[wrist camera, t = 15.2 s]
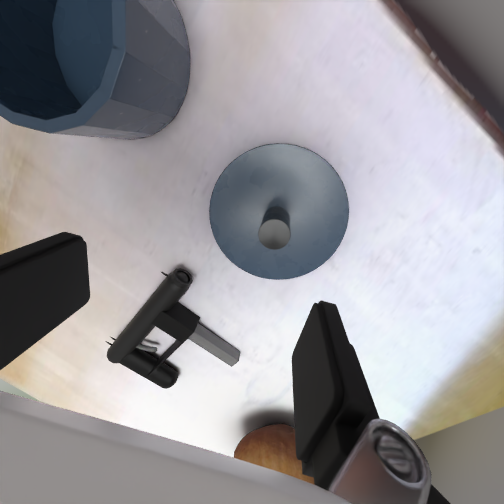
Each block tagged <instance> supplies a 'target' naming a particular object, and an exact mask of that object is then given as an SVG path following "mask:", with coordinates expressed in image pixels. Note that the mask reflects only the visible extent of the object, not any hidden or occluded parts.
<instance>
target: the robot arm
mask: <svg viewBox="0 0 504 504" xmlns="http://www.w3.org/2000/svg"><path fill="white" fill-rule="evenodd" d="M89 298H90V287H89V273H88V259H87V245H86V242H85V241H84V240H83V238H82V237H81V236H79V235H75V234H71V233H68V232H62V233H59V234H56V235H53V236H51V237H48V238H45V239H43V240H40V241H37V242H34V243H32V244H29V245H26V246H23V247H21V248H18V249H15V250H12V251H10V252H7V253H4V254H1V255H0V370H1V369H3V368H4V367H5V366H6V365H8V364H9V363H10V362H12V361H13V360H14V359H15V358H17V357H18V356H19V355H21V354H22V353H23V352H25V351H26V350H27V349H28V348H30V347H31V346H32V345H34V344H35V343H36V342H37V341H39V340H40V339H41V338H43V337H44V336H45V335H47V334H48V333H49V332H50V331H52V330H53V329H54V328H56V327H57V326H58V325H59V324H61V323H62V322H63V321H65V320H66V319H67V318H69V317H70V316H71V315H72V314H74V313H75V312H76V311H78V310H79V309H80V308H81V307H83V306H84V305H85V304H86V303H87V302H88V301H89ZM292 375H293V398H294V422H295V445H296V457H297V459H298V460H301V461H302V474H303V475H306V476H310V477H313V478H314V484H315V485H313V484H311V483H308V482H305V481H303V480H300V479H297V478H295V477H292V476H289V475H287V474H284V473H281V472H278V471H274V470H271V469H268V468H265V467H262V466H258V465H255V464H252V463H249V462H246V461H242V460H239V459H236V458H233V457H229V456H226V455H223V454H220V453H216V452H213V451H209V450H206V449H202V448H199V447H196V446H192V445H189V444H185V443H182V442H178V441H175V440H171V439H168V438H164V437H161V436H158V435H154V434H151V433H147V432H144V431H140V430H137V429H133V428H130V427H126V426H123V425H119V424H116V423H112V422H109V421H105V420H102V419H98V418H95V417H91V416H88V415H84V414H81V413H77V412H74V411H70V410H67V409H63V408H59V407H56V406H52V405H49V404H45V403H42V402H38V401H35V400H31V399H28V398H24V397H20V396H17V395H13V394H9V393H6V392H3V391H0V504H450V503H449V502H448V501H447V500H446V499H445V498H444V497H443V496H442V495H441V494H440V493H439V492H438V491H437V489H436V488H434V487H433V486H432V484H431V471H430V468H429V464H428V462H427V460H426V458H425V456H424V454H423V452H422V451H421V449H420V448H419V447H418V445H417V444H416V442H415V441H414V440H413V439H412V438H411V437H410V436H409V435H408V434H407V433H406V432H405V431H404V430H402V429H401V428H400V427H398V426H397V425H396V424H394V423H391V422H389V421H387V420H383V419H380V418H379V416H378V413H377V410H376V407H375V405H374V402H373V399H372V396H371V394H370V391H369V388H368V385H367V382H366V380H365V377H364V374H363V371H362V369H361V366H360V363H359V360H358V358H357V355H356V352H355V349H354V347H353V346H352V345H351V344H350V343H349V341H348V338H347V335H346V332H345V329H344V326H343V323H342V320H341V317H340V315H339V312H338V309H337V306H336V305H335V304H332V303H328V302H324V301H320V302H319V303H314V305H313V307H312V309H311V311H310V314H309V316H308V318H307V321H306V323H305V325H304V328H303V330H302V332H301V335H300V337H299V340H298V342H297V344H296V347H295V349H294V351H293V355H292Z"/></svg>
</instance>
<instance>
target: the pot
mask: <svg viewBox="0 0 504 504" xmlns="http://www.w3.org/2000/svg"><path fill="white" fill-rule="evenodd" d="M189 75H190V52H189V45H188V38H187V34H186V30H185V27H184V23H183V21H182V18H181V14H180V12H179V10H178V8H177V6H176V4H175V2H174V0H0V116H2V117H3V118H5V119H6V120H8V121H9V122H10V123H12V124H15V125H19V126H23V127H27V128H30V129H34V130H38V131H42V132H46V133H52V134H65V135H78V136H91V137H104V138H117V139H135V138H143V137H147V136H150V135H153V134H155V133H157V132H159V131H160V130H162V129H163V128H164V127H166V126H167V125H168V124H169V123H170V122H171V121H172V119H173V118H174V117H175V115H176V114H177V113H178V111H179V109H180V107H181V105H182V103H183V100H184V98H185V95H186V91H187V87H188V82H189Z"/></svg>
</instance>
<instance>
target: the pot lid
mask: <svg viewBox="0 0 504 504" xmlns="http://www.w3.org/2000/svg"><path fill="white" fill-rule="evenodd" d="M209 212H210V223H211V228H212V232H213V235H214V237H215V240H216V242H217V244H218V245H219V247H220V249H221V250H222V252H223V253H224V254H225V255H226V257H227V258H228V259H229V260H230V261H231V262H232V263H234V264H235V265H236V266H238V267H239V268H241V269H242V270H244V271H246V272H248V273H250V274H252V275H255V276H258V277H262V278H267V279H276V280H277V279H290V278H295V277H299V276H302V275H305V274H307V273H309V272H311V271H313V270H315V269H317V268H318V267H319V266H321V265H322V264H323V263H325V262H326V261H327V260H328V259H329V258H330V257H331V256H332V255H333V253H334V252H335V251H336V249H337V248H338V246H339V245H340V243H341V241H342V239H343V237H344V234H345V231H346V228H347V223H348V217H349V205H348V198H347V194H346V190H345V188H344V185H343V182H342V181H341V179H340V177H339V175H338V174H337V172H336V171H335V170H334V169H333V167H332V166H331V165H330V164H329V163H328V162H327V161H326V160H325V159H323V158H322V157H320V156H319V155H318V154H316V153H314V152H312V151H310V150H308V149H306V148H303V147H300V146H297V145H291V144H268V145H264V146H260V147H256V148H254V149H252V150H249V151H247V152H245V153H244V154H242V155H240V156H239V157H237V158H236V159H235V160H234V161H233V162H231V163H230V164H229V165H228V167H227V168H226V169H225V170H224V171H223V173H222V174H221V175H220V177H219V179H218V181H217V183H216V184H215V187H214V190H213V192H212V196H211V201H210V210H209Z"/></svg>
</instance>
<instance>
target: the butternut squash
mask: <svg viewBox="0 0 504 504" xmlns="http://www.w3.org/2000/svg"><path fill="white" fill-rule="evenodd" d="M234 458H236V459H239V460H242V461H246V462H249V463H252V464H255V465H258V466H262V467H265V468H268V469H271V470H274V471H278V472H281V473H284V474H287V475H289V476H292V477H295V478H297V479H300V480H303V481H305V482H308V483H311V484H313V485H315V484H314V478H313V477H310V476H306V475H303V474H302V461H301V460H298V459H297V457H296V445H295V429H294V428H293V427H291V426H289V425H286V424H275V425H268V426H265V427H262V428H259V429H256V430H253V431H252V432H250V433H249V434H247V435H246V436H245V437H244V438H243V439H242V440H241V441H240V443H239V444H238V446H237V448H236V449H235V451H234Z"/></svg>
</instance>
